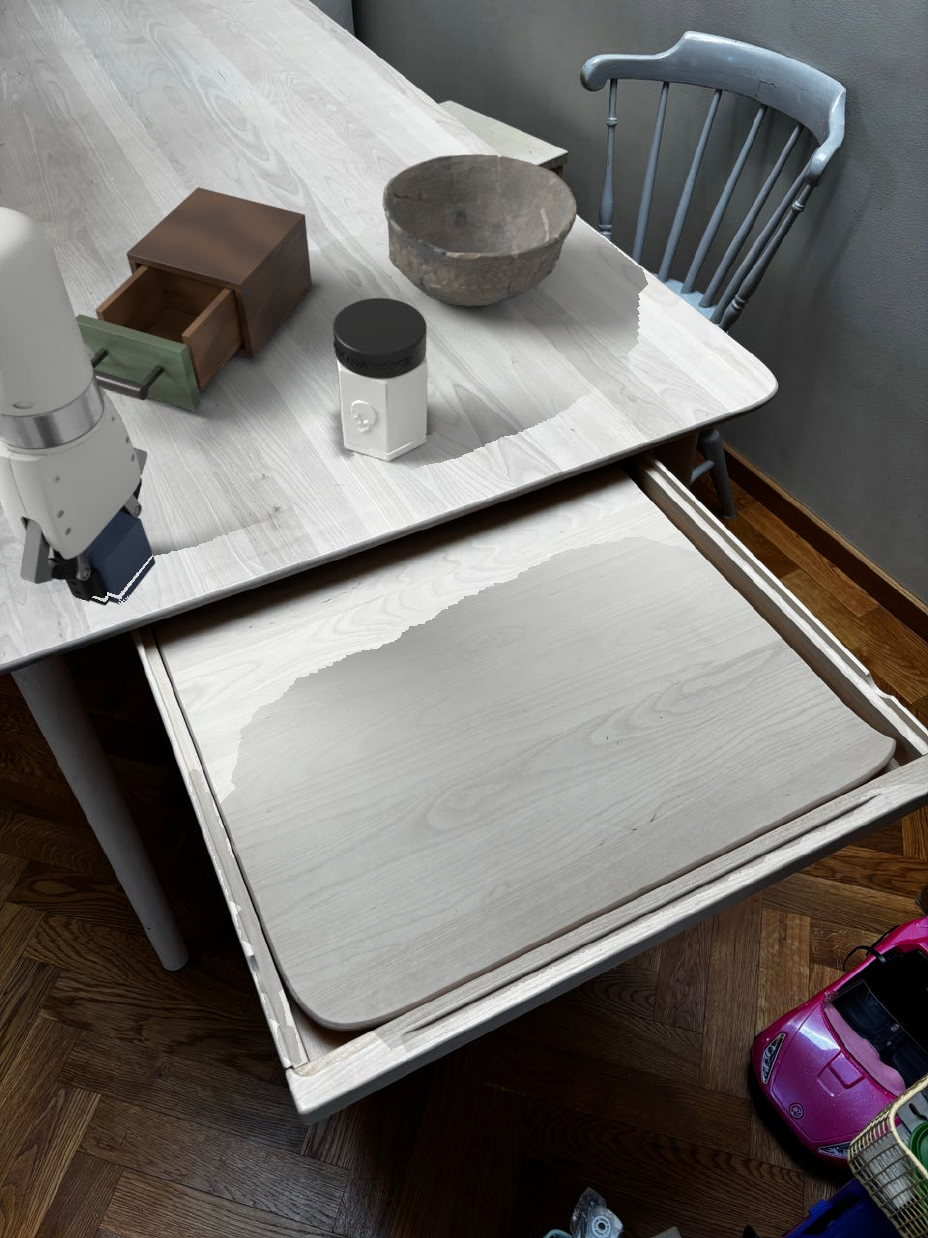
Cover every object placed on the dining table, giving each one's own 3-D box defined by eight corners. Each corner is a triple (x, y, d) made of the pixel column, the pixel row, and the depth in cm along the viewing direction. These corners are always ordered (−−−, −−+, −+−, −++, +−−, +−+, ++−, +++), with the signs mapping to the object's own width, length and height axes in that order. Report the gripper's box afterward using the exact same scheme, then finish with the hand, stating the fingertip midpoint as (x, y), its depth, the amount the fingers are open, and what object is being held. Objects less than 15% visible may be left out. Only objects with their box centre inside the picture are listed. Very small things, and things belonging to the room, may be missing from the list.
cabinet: (253, 358, 94) (240, 284, 87) (146, 327, 96) (125, 252, 89) (312, 287, 101) (305, 214, 94) (212, 260, 104) (197, 186, 97)
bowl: (523, 221, 111) (532, 138, 103) (595, 320, 100) (611, 236, 92) (360, 248, 106) (356, 163, 98) (416, 355, 95) (416, 269, 87)
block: (122, 605, 74) (104, 562, 70) (69, 587, 75) (48, 543, 71) (155, 562, 77) (140, 518, 73) (104, 545, 78) (86, 500, 74)
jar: (322, 444, 87) (311, 338, 77) (358, 392, 91) (352, 286, 82) (409, 470, 85) (409, 366, 75) (441, 417, 90) (445, 311, 80)
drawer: (171, 439, 85) (154, 381, 79) (66, 406, 87) (43, 347, 81) (257, 337, 94) (248, 278, 89) (161, 309, 96) (146, 250, 91)
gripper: (70, 317, 67) (130, 492, 81) (-93, 466, 57) (9, 635, 72) (160, 343, 66) (205, 517, 80) (9, 501, 56) (91, 666, 70)
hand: (111, 571), depth 76 cm, fingers closed on block, 5 cm apart
